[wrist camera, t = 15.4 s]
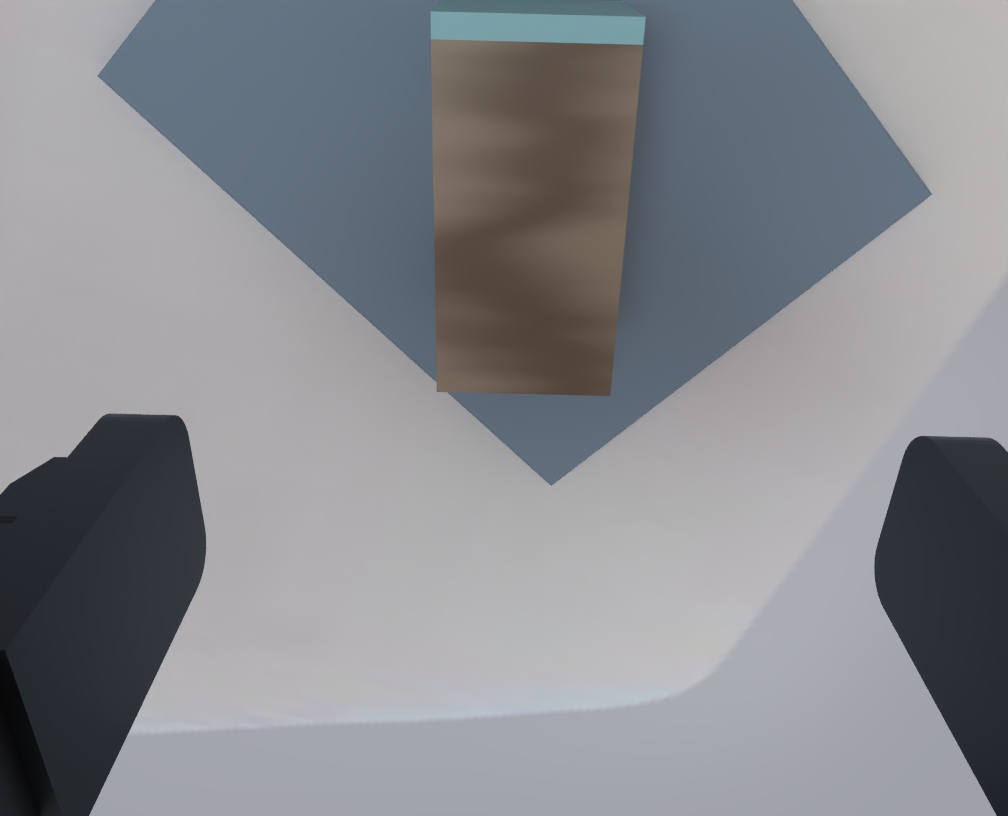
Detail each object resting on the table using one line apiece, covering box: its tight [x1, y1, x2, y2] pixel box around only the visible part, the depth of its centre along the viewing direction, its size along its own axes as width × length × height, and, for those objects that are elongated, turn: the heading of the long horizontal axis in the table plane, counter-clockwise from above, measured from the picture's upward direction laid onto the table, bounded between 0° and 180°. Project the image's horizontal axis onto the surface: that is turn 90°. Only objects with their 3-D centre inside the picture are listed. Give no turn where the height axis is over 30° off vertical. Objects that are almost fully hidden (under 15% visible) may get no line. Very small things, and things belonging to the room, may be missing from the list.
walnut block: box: [430, 0, 646, 396], centre depth 25 cm, size 5×5×10 cm
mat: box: [98, 0, 932, 485], centre depth 27 cm, size 20×16×1 cm
